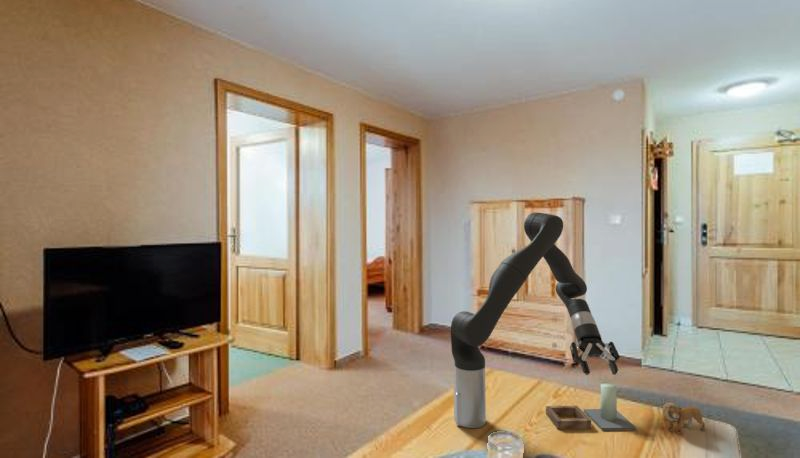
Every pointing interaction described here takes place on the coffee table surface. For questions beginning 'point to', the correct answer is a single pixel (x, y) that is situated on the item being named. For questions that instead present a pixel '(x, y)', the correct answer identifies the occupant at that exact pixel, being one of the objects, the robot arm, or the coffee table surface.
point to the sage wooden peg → (608, 401)
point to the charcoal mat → (609, 425)
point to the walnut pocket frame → (562, 424)
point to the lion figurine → (681, 416)
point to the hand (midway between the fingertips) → (601, 373)
